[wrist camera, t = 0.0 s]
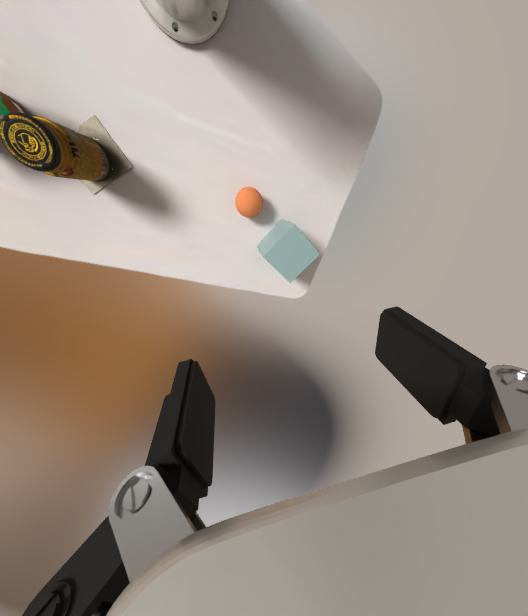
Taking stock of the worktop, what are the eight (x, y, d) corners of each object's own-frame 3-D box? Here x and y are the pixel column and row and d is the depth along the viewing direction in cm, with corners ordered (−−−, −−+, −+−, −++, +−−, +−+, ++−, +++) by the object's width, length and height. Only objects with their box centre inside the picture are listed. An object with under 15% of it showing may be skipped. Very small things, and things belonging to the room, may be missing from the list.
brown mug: (52, 147, 31) (-32, 123, 21) (95, 115, 31) (29, 74, 20) (94, 194, 35) (40, 193, 25) (133, 167, 34) (94, 154, 24)
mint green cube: (256, 246, 44) (263, 256, 36) (281, 218, 42) (294, 223, 35) (279, 269, 47) (290, 283, 40) (303, 244, 46) (320, 254, 38)
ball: (229, 202, 39) (230, 203, 35) (247, 181, 38) (250, 179, 34) (248, 221, 41) (251, 224, 37) (265, 202, 40) (270, 203, 36)
